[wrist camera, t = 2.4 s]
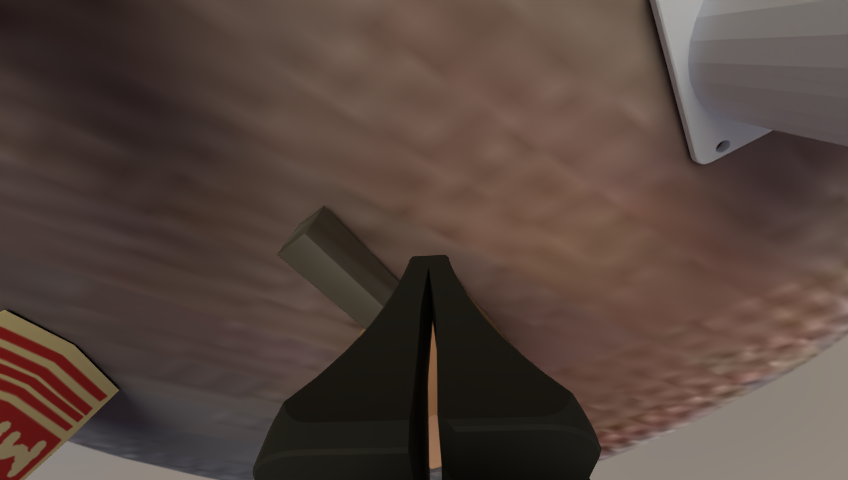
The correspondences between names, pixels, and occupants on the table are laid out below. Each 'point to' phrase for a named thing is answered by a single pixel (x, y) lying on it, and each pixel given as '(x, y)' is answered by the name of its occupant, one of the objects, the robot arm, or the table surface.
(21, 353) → the milk carton
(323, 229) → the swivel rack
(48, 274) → the table surface
